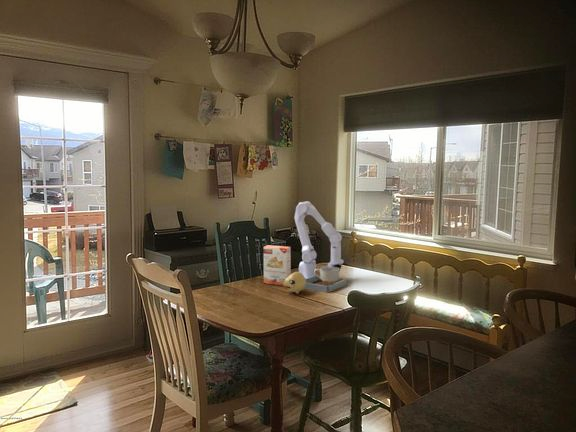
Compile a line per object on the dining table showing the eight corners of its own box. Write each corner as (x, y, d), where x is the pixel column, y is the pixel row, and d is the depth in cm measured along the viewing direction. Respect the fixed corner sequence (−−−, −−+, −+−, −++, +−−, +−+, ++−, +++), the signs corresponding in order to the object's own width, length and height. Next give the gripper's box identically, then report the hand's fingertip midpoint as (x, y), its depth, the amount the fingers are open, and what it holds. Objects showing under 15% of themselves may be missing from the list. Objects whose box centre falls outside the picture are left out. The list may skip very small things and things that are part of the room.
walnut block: (322, 289, 239) (322, 280, 239) (326, 288, 243) (326, 279, 242) (329, 291, 237) (329, 281, 237) (333, 289, 240) (333, 280, 240)
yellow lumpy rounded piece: (279, 293, 233) (279, 272, 232) (295, 288, 242) (295, 268, 241) (293, 296, 226) (293, 275, 225) (309, 292, 235) (309, 271, 234)
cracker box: (263, 284, 252) (262, 246, 250) (267, 281, 257) (267, 244, 255) (286, 286, 246) (286, 248, 244) (291, 283, 252) (290, 246, 250)
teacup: (340, 280, 259) (340, 266, 258) (337, 285, 248) (338, 270, 247) (316, 279, 262) (316, 265, 261) (312, 283, 251) (312, 269, 251)
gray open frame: (297, 287, 245) (297, 281, 245) (316, 280, 260) (316, 274, 260) (328, 292, 234) (328, 286, 234) (346, 284, 249) (346, 279, 249)
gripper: (335, 256, 252) (335, 281, 253) (348, 252, 263) (348, 276, 265) (324, 255, 256) (324, 279, 257) (337, 251, 268) (337, 274, 269)
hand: (335, 277), depth 261 cm, fingers closed
